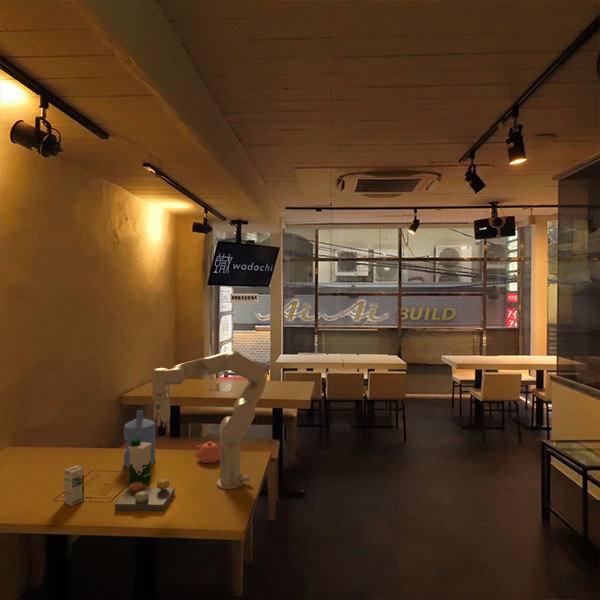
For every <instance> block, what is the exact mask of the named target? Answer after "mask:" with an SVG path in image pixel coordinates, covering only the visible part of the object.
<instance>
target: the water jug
mask: <svg viewBox="0 0 600 600" xmlns="http://www.w3.org/2000/svg"><path fill="white" fill-rule="evenodd" d="M143 412H144V410H143V409H138V410H136V418H135V419H133V420H131V421H128V422H127V423H125V424H124V426H123V439H124V440H125V442H126V449H125V450H124V451H123V465H124V467H125V468H127V469H130V454H129V449H128V447H129V446H131V443H132V440H134V439H140V442H147V443H152V444H151V453H150V466H152V465H154V463H156V422H155V421H154V420H151V419H148V418H145V417H144V413H143Z"/></svg>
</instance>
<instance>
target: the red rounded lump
mask: <svg viewBox="0 0 600 600" xmlns="http://www.w3.org/2000/svg"><path fill="white" fill-rule="evenodd" d="M142 487H144V486H143V483H142V482H133V483H131V484H130V485H129V488H130V492H139V491H141V490H142Z"/></svg>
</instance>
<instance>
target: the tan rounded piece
mask: <svg viewBox="0 0 600 600" xmlns="http://www.w3.org/2000/svg"><path fill="white" fill-rule="evenodd" d="M156 484H157V485H156V487H157V488H158V489H161V492H165V488H168V487H170V479H169V478H165V477H164V478H160V479H158V480H157V481H156Z"/></svg>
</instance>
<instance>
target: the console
mask: <svg viewBox="0 0 600 600" xmlns="http://www.w3.org/2000/svg"><path fill="white" fill-rule="evenodd" d="M175 489H176V488H175V487H170V486H169V487H168V488H165V492H161V489H158V488H157V486H143V487H142V490H141V491H147V492H149V499H148V500H147V501H145V502H136V493H138V492H130V487H129V488H128V489H127V490H126V491H125V492H124V494H122V495H121V497H119V499H118V500H117V501H116V502H115V504H114V512H136V511H138V512H146V513H151V512H152V513H154V512H155V513H163V512H164V511H165V510H166V508H167V507H168V505H169V504H170V502H171V501H172V499H173V498H174V496H175V494H176V490H175ZM139 492H140V491H139Z"/></svg>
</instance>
